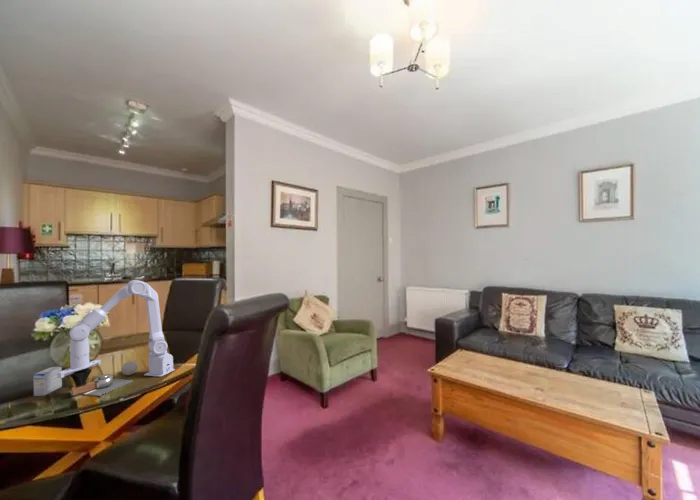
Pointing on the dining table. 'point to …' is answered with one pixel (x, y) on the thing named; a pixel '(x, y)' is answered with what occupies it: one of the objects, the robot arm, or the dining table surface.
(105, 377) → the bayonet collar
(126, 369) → the lightbulb
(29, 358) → the dining table surface
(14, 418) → the dining table surface
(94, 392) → the lock base
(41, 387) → the medicine box
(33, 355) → the dining table surface
